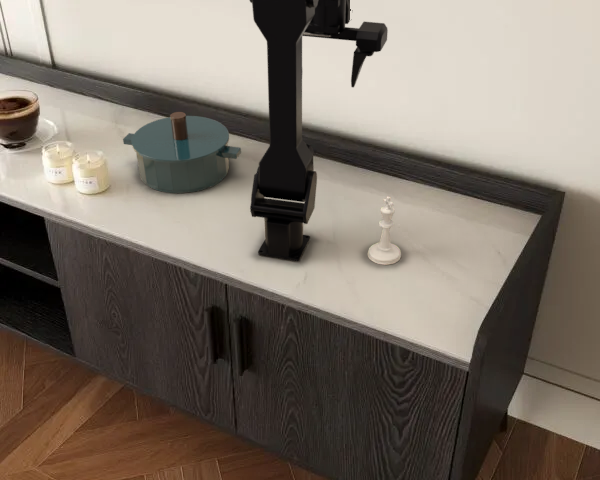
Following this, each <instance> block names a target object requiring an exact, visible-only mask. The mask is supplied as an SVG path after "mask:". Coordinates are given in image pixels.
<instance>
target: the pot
mask: <svg viewBox="0 0 600 480" xmlns="http://www.w3.org/2000/svg"><path fill="white" fill-rule="evenodd" d="M134 134H135V133H131V132H129V133H127V135H126V136H124V138H122V142H123V145H127V146H132V137H133V135H134ZM135 154H136V160H137V166H138V173H139V178H140V180H141V182H142V183H143V184H144V185H146V186H147V187H149V188H151V189H152V190H155V191H158V192H162V193H168V194H189V193H196V192H200V191H203V190H206V189H210V188H212V187H214V186H216V185H217V184H219V183H220V182H222V181H223V180H224V179H225V178H226V177H227V176H228V173H229V168H230V160H229V159H232V160H237V159H238V158H239V157H240V155H242V147H238V146H231V145H228V143H227V145H226V146H225V147H224V148H223V149H222V150H221V151H219V152H218V153H216V154H214V155H212V156H209V157H207V158H204V159H200V160H196V161H191V162H183V163H165V162H157V161H153V160H149V159H146V158H144V157H142V156H140V155H139V154H137V153H136V152H135Z"/></svg>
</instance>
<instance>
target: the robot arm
mask: <svg viewBox="0 0 600 480" xmlns="http://www.w3.org/2000/svg"><path fill="white" fill-rule="evenodd" d="M249 2H250V3H251V5H252V17H253V22H254V24H255V25H256V27H257V28H258V30H259V31H260V33H261V34H262V36H263V37H264V39H265V41H266V55H267V56H266V58H267V59H266V60H267V93H268V95H267V97H268V130H269V131H268V134H269V135H268V137H269V146H268V148H267V149H266V151H265V152H264V154H263V156H262V157H261V159H260V160H259V162H258V167H257V169H256V173H254V175H253V180H252V181H253V183H252V187H251V195H250V196H251V197H250V208H249V210H250V211H249V212H250V214H251V217H252V218H262V219H263V218H264V220H263V221H264V240H263V242H262V243H261V246H260V247H259V249H258V251H257V254H258V256H261V257H267V258H272V259H273V258H274V259H278V260H279V259H280V260H286V261H292V262H300V261H301V259H302V257H303V255H304V253H305V251H306V248H307V247H308V244H309V243H310V240H311V236H310V235H308V234H304V225H308V223H309V221H310V219H311V217H312V215H313V212H314V210H315V206H316V196H317V195H316V194H317V183H318V174H317V171H316V170H314V168H315V167H314V166H315V165H314V148H313V146H312V144H307V143H306V142H305V141H304V140H303V37H311V38H321V39H331V40H341V41H352V42H355V46H356V48H355V49H354V51H353V57H352V65H351V66H352V67H351V77H350V84H351V85H350V86H351V88H355V86H356V84H357V81H358V79H359V76H360V72H361V70H362V67H363V66H364V63H365V61H366V59H367V57H372V56H373V55H374V53H380V52H381V51H382V50H383V48H384V46H385V45H386V43H387V41H388V33H389V30H388V26H387V25H386V24H385V23H384V22H373V21H372V22H371V21H363V22H362V23H361V25H360V26H359V27H347V26H346V25H348V24H349V23H350V21H351V20H350V11H351V9H350V0H249Z"/></svg>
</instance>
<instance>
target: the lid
mask: <svg viewBox="0 0 600 480" xmlns="http://www.w3.org/2000/svg"><path fill="white" fill-rule="evenodd" d="M133 134H134V135H133V137H132V145H131V147H132V149H133V151H134V152H135V154H136V153H137V154H139V155H140V156H142V157H144V158H146V159H149V160H153V161H157V162H165V163H183V162H191V161H196V160H200V159H204V158H207V157H209V156H212V155H214V154H216V153H218V152H219V151H221V150H222V149H223V148H224V147H225V146H226V145H227V144H228V143H229V141H230V132H229V130H228V127H226V126H225V125H224V124H222V123H221V122H220V121H218V120H215V119H212V118H209V117H205V116H199V115H186V113H185V112H183V111H175V112H172V113H171V114H170V115H169V116H168V117H164V118H160V119H157V120H154V121H151V122H149V123H146V124H144V125H143V126H141V127H140V128H138V129H137V130H136V131H135V132H134V133H133Z"/></svg>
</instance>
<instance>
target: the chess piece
mask: <svg viewBox="0 0 600 480" xmlns="http://www.w3.org/2000/svg"><path fill="white" fill-rule="evenodd" d="M391 198H392V197H390V196H389V195H388V196H386V198H383V199H382V203H384V204H385V205H383V206H382V207H381V208H380V214H381V218H382V219H381V220H380V221H379V222H378V225H379V227H380V228H382V230H381V236H380V240H379V242H376V243H374V244H372V245H371V246H369V248H368V251H367V257H368V259H369V260H370V261H371V262H372V263H375V264H378V265H385V266H387V265H392V264H396V263H397V262H399V261H400V259H401V257H402V253H401V249H400V248H399V247H398V245H396V244H394V243H392V242H391V228H393V227H394V226H395V223H394V221H393V220H392V218H393V216H394V214H395V210H396V209H395V208H394V202H392V200H391Z"/></svg>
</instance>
